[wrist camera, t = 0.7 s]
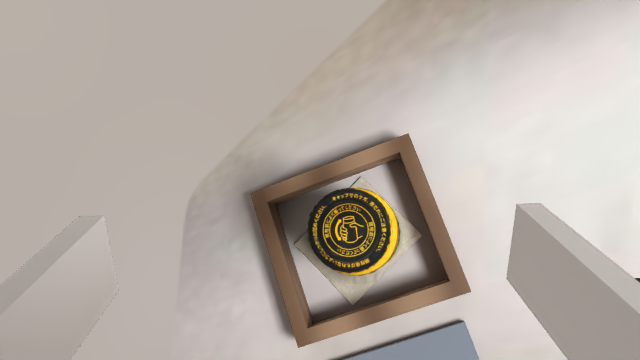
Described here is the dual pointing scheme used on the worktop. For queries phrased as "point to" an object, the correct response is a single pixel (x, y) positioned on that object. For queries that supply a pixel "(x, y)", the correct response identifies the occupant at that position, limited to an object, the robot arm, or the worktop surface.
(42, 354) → the robot arm
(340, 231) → the condiment
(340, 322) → the pocket
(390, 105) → the worktop surface
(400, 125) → the worktop surface
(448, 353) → the mat
